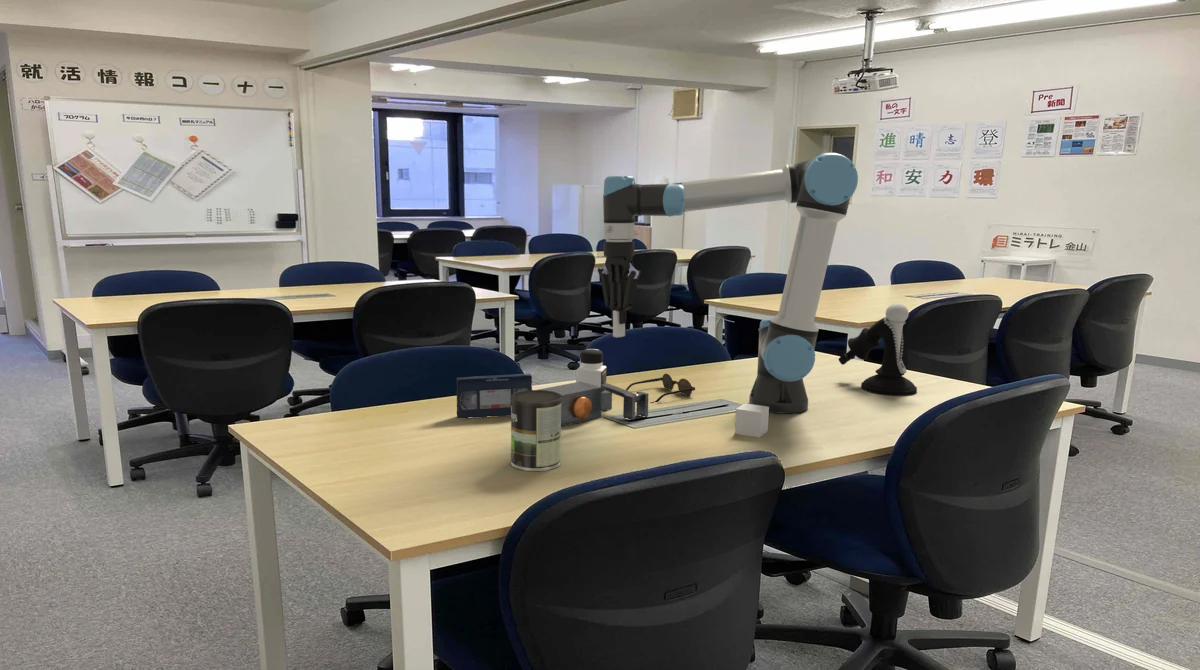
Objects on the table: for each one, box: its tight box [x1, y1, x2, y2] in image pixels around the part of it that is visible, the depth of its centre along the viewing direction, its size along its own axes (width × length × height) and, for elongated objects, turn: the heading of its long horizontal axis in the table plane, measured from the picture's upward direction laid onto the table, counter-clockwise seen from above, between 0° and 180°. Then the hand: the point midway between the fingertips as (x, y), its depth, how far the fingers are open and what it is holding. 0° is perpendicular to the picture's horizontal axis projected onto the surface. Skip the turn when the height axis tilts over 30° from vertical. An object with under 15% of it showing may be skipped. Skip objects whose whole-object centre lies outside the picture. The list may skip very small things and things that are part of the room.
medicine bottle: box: [575, 348, 608, 391], centre depth 224 cm, size 7×7×12 cm
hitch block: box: [537, 381, 602, 427], centre depth 198 cm, size 8×14×8 cm, turn 133°
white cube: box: [734, 403, 770, 438], centre depth 190 cm, size 6×6×6 cm
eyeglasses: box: [625, 373, 696, 404], centre depth 224 cm, size 15×15×5 cm
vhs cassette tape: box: [455, 373, 533, 419], centre depth 200 cm, size 18×3×10 cm, turn 105°
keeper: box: [601, 382, 644, 403], centre depth 204 cm, size 12×3×2 cm, turn 43°
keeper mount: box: [601, 391, 649, 420], centre depth 204 cm, size 14×6×6 cm, turn 43°
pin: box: [572, 396, 592, 419], centre depth 199 cm, size 13×5×5 cm, turn 43°
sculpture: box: [838, 303, 918, 397], centre depth 236 cm, size 15×24×25 cm, turn 45°
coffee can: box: [510, 389, 562, 472], centre depth 165 cm, size 10×10×14 cm
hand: (619, 336), depth 202 cm, fingers closed
